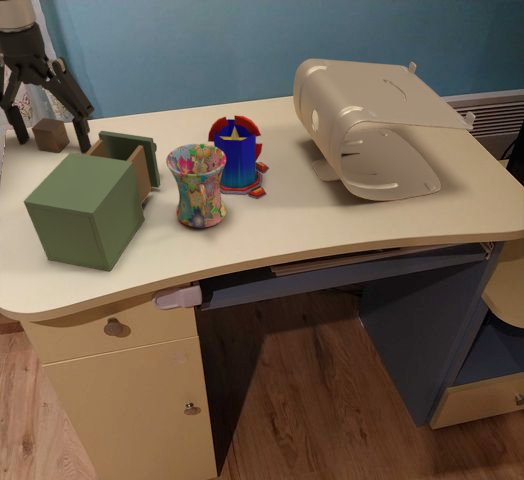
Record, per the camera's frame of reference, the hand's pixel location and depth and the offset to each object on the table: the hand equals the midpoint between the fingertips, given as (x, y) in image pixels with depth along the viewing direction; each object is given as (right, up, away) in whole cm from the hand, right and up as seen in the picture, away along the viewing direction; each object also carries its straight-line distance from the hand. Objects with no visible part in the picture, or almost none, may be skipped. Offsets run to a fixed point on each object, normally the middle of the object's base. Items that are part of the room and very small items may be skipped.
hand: (55, 145), depth 99 cm
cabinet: (+15, -23, -18) cm, 33 cm away
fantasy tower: (+37, -9, -7) cm, 38 cm away
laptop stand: (+62, -5, -3) cm, 62 cm away
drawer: (+18, -13, -11) cm, 25 cm away
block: (0, 0, 0) cm, 0 cm away
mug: (+31, -19, -15) cm, 40 cm away
